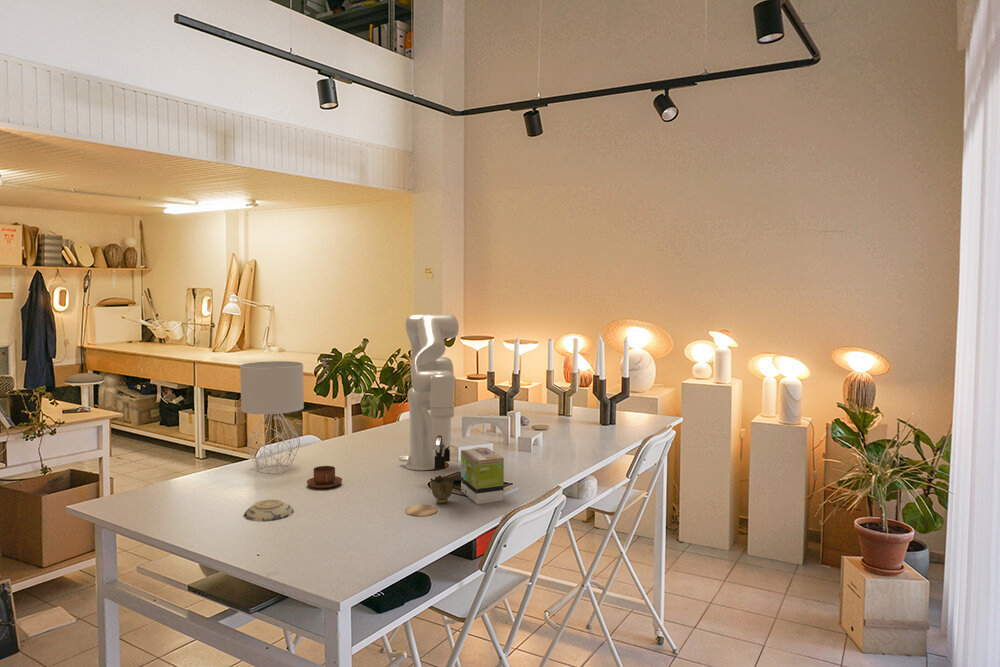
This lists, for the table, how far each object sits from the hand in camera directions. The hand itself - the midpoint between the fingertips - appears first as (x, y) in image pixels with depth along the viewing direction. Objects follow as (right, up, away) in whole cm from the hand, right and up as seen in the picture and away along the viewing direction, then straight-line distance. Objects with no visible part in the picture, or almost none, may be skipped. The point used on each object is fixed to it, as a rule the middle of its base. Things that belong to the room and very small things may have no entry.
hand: (442, 465), depth 226 cm
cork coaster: (-6, -13, -7) cm, 16 cm away
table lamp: (-67, -10, +40) cm, 79 cm away
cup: (0, -13, +1) cm, 13 cm away
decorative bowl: (-52, -14, -10) cm, 55 cm away
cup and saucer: (-43, -11, +20) cm, 49 cm away
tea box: (+12, -12, +8) cm, 19 cm away
